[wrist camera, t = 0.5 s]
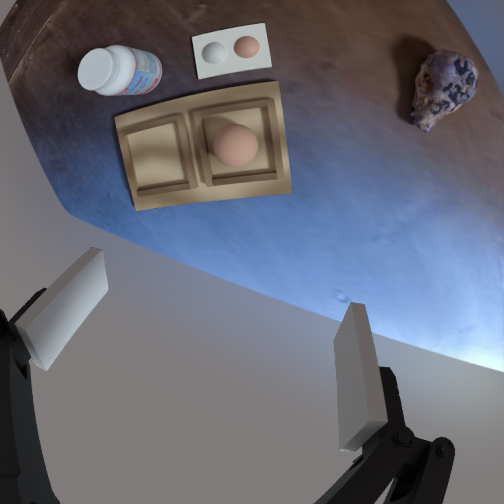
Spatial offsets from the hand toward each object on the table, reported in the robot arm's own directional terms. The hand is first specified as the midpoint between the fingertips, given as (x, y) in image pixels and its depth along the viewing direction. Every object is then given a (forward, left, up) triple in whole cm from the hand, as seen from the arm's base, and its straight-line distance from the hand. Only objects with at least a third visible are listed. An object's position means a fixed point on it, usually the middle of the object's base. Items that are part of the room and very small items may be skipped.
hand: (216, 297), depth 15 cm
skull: (-10, +23, -26) cm, 36 cm away
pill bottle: (-17, -14, -26) cm, 34 cm away
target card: (-17, -2, -25) cm, 30 cm away
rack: (-5, -8, -25) cm, 27 cm away
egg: (-5, -3, -24) cm, 25 cm away
